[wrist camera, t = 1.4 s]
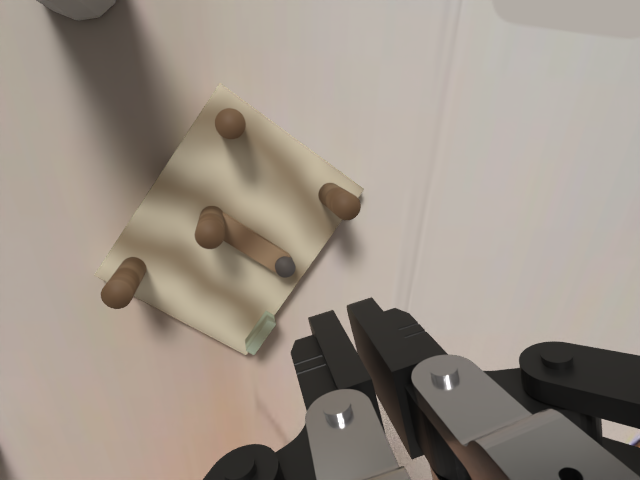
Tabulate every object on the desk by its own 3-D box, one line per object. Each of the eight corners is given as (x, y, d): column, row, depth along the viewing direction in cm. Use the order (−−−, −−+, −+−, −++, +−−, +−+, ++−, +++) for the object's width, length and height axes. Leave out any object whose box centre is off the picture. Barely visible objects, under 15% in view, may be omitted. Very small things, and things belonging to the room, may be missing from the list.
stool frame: (245, 346, 50) (248, 392, 41) (99, 268, 45) (69, 303, 36) (358, 186, 48) (387, 200, 39) (220, 84, 42) (218, 75, 34)
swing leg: (297, 257, 46) (309, 280, 39) (284, 276, 46) (294, 302, 40) (208, 201, 43) (204, 215, 36) (194, 221, 43) (188, 239, 36)
